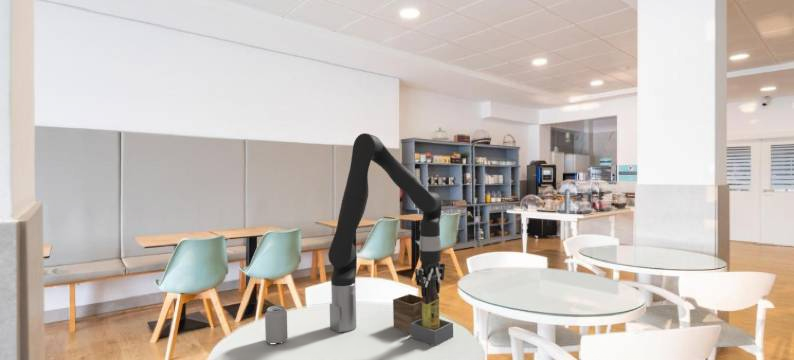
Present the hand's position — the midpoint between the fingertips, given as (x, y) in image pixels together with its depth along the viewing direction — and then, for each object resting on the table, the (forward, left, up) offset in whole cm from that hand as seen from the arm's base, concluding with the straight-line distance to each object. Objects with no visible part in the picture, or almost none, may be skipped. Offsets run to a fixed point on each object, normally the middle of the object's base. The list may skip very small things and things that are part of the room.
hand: (430, 294), depth 141 cm
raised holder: (+2, +12, -15) cm, 19 cm away
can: (-40, +38, -15) cm, 57 cm away
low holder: (0, 0, -15) cm, 15 cm away
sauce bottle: (0, 0, -13) cm, 13 cm away
